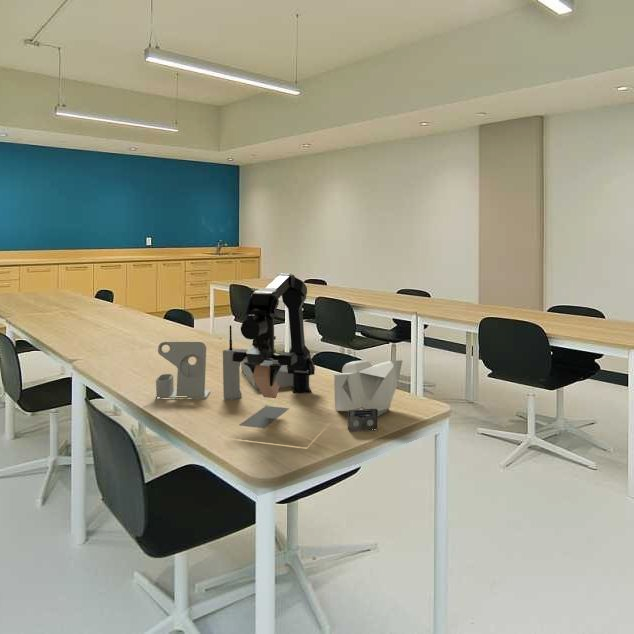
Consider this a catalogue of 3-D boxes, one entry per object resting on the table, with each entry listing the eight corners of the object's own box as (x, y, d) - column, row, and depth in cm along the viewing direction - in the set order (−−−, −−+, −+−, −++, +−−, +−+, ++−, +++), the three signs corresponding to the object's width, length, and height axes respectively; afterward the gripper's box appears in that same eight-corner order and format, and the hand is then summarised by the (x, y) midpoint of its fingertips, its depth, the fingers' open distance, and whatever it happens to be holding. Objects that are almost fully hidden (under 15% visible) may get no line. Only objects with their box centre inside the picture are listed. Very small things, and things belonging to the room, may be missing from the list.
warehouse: (294, 387, 208) (294, 367, 207) (255, 390, 203) (255, 369, 202) (275, 369, 236) (275, 351, 235) (241, 371, 232) (241, 353, 231)
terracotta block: (267, 385, 177) (256, 364, 168) (279, 387, 176) (268, 365, 166) (263, 397, 175) (252, 376, 165) (275, 398, 173) (264, 377, 164)
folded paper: (329, 358, 174) (368, 373, 161) (384, 350, 189) (424, 363, 176) (326, 411, 177) (363, 429, 164) (380, 398, 192) (419, 415, 179)
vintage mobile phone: (241, 397, 192) (241, 324, 189) (231, 401, 188) (230, 326, 185) (233, 396, 194) (232, 323, 191) (223, 399, 190) (222, 325, 187)
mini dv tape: (376, 428, 162) (376, 408, 161) (377, 430, 160) (377, 409, 160) (347, 429, 161) (348, 409, 160) (348, 431, 159) (349, 410, 158)
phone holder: (153, 399, 190) (152, 346, 187) (161, 391, 200) (159, 341, 197) (206, 399, 190) (205, 346, 188) (210, 391, 200) (209, 341, 198)
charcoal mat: (265, 407, 182) (265, 405, 182) (289, 409, 179) (289, 408, 179) (238, 426, 163) (238, 425, 163) (264, 429, 160) (264, 427, 160)
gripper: (223, 336, 163) (224, 389, 165) (284, 340, 157) (284, 395, 159) (240, 330, 173) (240, 380, 175) (297, 334, 168) (297, 385, 170)
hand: (264, 385), depth 170 cm, fingers closed on terracotta block, 4 cm apart
